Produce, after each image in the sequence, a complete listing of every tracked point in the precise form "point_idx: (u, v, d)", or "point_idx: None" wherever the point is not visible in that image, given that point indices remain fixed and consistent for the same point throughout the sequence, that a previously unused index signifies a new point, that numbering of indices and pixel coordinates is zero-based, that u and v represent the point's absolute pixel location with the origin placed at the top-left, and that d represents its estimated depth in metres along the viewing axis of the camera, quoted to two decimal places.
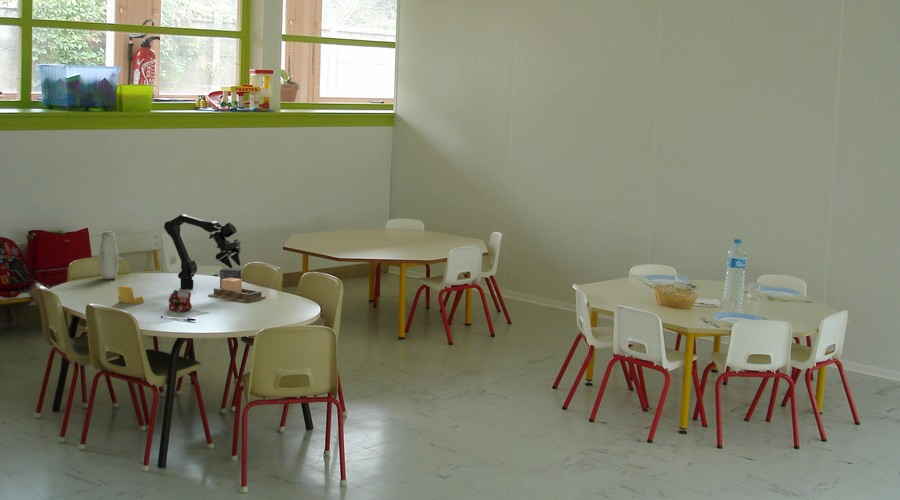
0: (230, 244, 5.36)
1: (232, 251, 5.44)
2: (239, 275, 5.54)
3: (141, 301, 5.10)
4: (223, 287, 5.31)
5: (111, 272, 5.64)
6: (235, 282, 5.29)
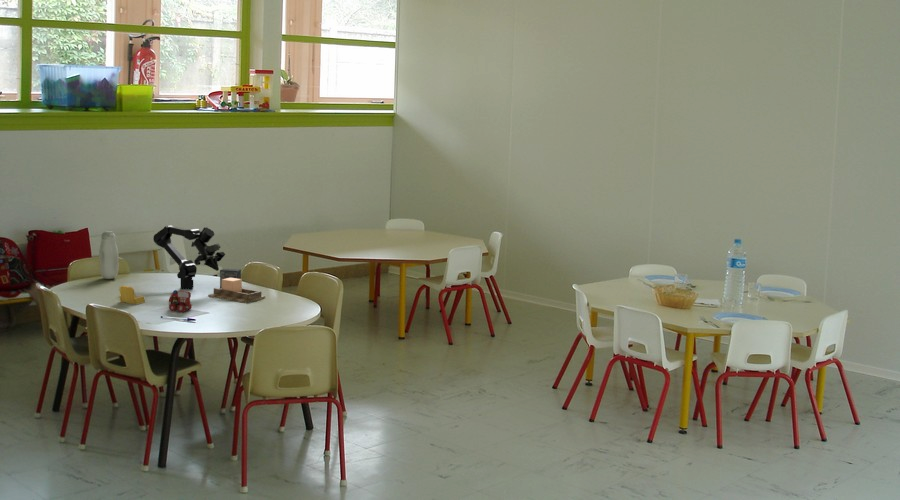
0: (208, 248, 5.34)
1: None
2: (239, 275, 5.54)
3: (142, 301, 5.11)
4: (223, 287, 5.31)
5: (111, 272, 5.64)
6: (235, 282, 5.29)
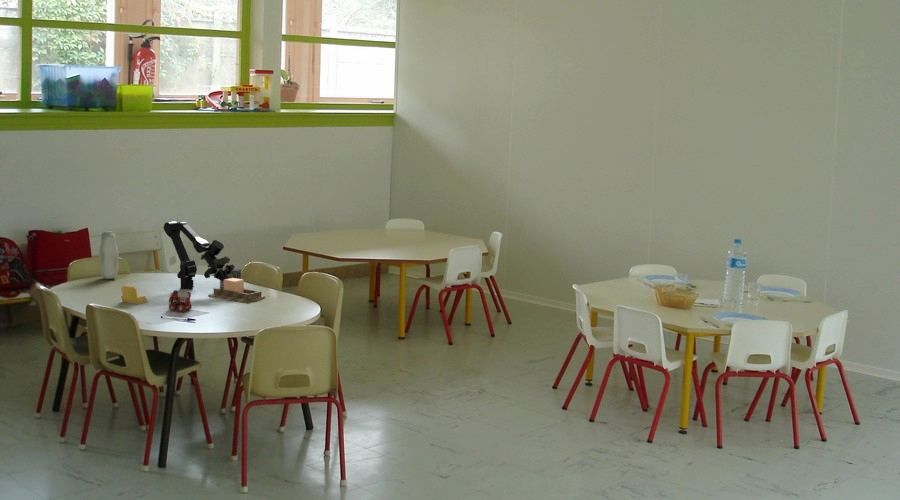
0: (218, 261, 5.32)
1: (219, 270, 5.35)
2: (239, 275, 5.54)
3: (144, 300, 5.12)
4: (225, 287, 5.30)
5: (111, 272, 5.64)
6: (237, 282, 5.28)
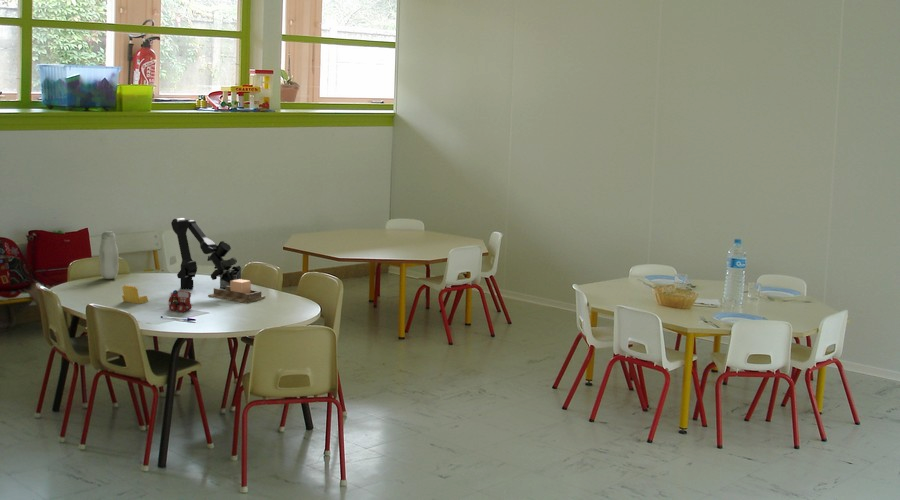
0: (225, 262, 5.29)
1: None
2: (239, 275, 5.54)
3: (145, 300, 5.12)
4: (232, 288, 5.27)
5: (111, 272, 5.64)
6: (244, 283, 5.25)
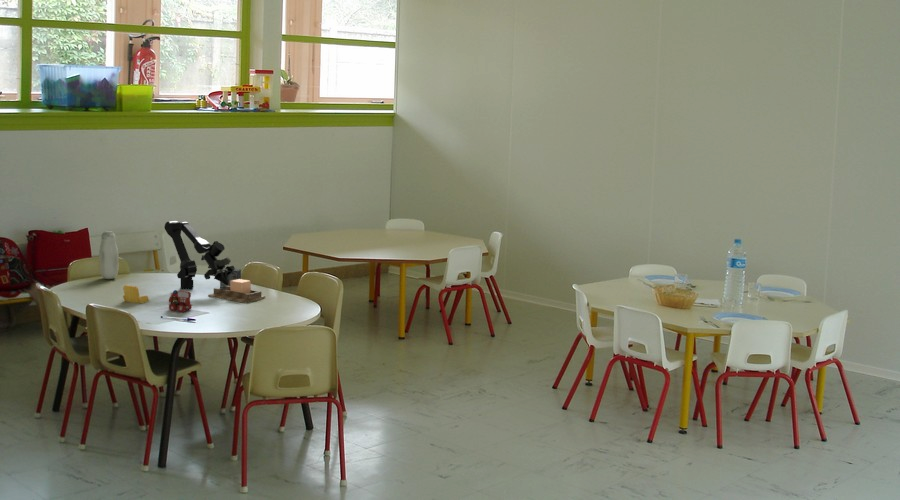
0: (218, 262, 5.32)
1: None
2: (239, 275, 5.54)
3: (146, 300, 5.13)
4: (232, 288, 5.27)
5: (111, 272, 5.64)
6: (244, 283, 5.25)
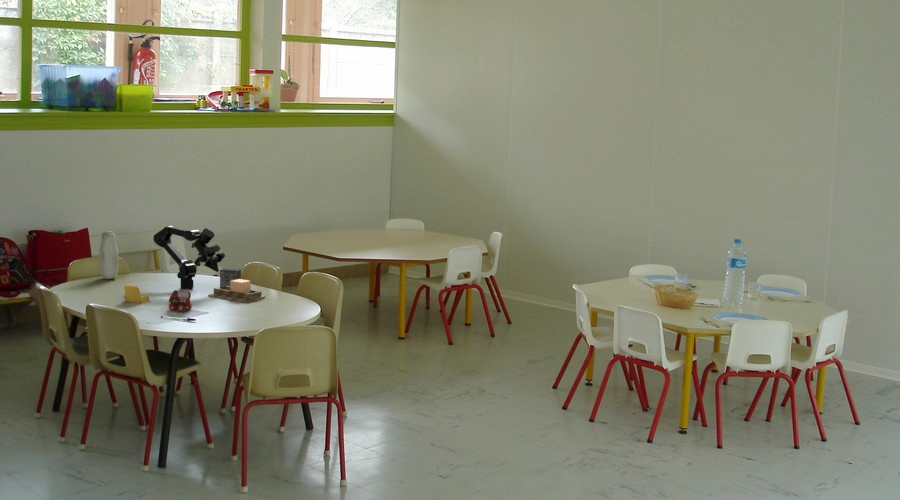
0: (208, 249, 5.34)
1: None
2: (239, 275, 5.54)
3: (147, 300, 5.13)
4: (232, 288, 5.27)
5: (111, 272, 5.64)
6: (244, 283, 5.25)
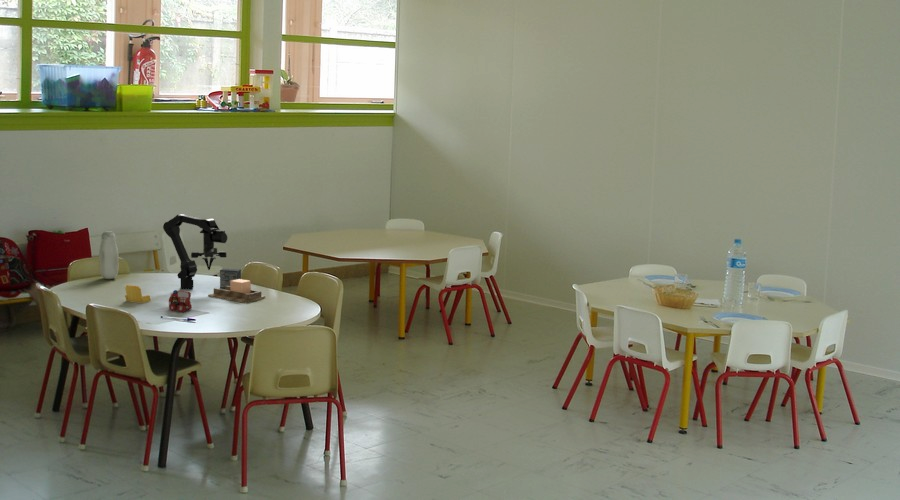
0: (204, 250, 5.35)
1: None
2: (239, 275, 5.54)
3: (148, 300, 5.14)
4: (232, 288, 5.27)
5: (111, 272, 5.64)
6: (244, 283, 5.25)
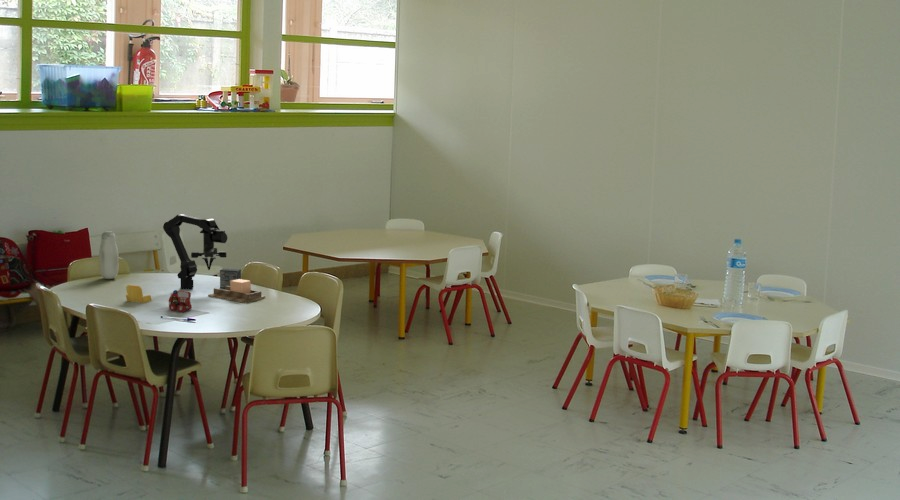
0: (204, 250, 5.35)
1: None
2: (239, 275, 5.54)
3: (149, 299, 5.14)
4: (232, 288, 5.27)
5: (111, 272, 5.64)
6: (244, 283, 5.25)
